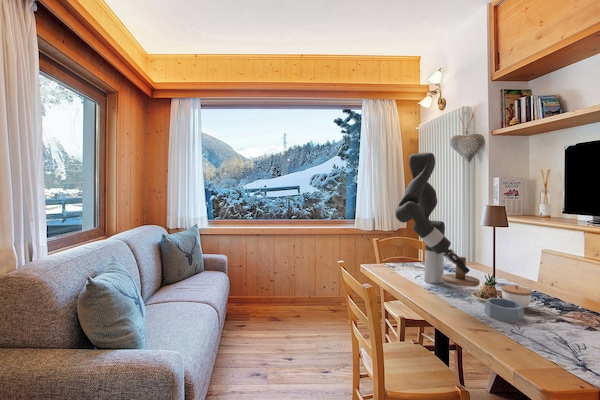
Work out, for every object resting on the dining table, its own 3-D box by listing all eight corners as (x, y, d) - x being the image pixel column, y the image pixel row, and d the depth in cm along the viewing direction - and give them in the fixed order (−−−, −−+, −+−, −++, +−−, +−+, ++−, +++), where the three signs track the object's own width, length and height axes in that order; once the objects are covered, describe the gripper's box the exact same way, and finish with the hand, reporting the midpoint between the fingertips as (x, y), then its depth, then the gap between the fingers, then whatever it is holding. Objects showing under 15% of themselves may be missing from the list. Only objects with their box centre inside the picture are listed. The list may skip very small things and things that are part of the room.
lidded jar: (526, 304, 138) (526, 283, 138) (535, 313, 128) (536, 290, 128) (498, 301, 142) (498, 280, 141) (505, 309, 131) (505, 287, 131)
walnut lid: (452, 274, 140) (452, 252, 139) (485, 282, 129) (486, 258, 128) (435, 280, 131) (435, 256, 131) (469, 288, 120) (470, 263, 120)
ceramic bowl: (493, 307, 133) (494, 296, 133) (526, 317, 124) (527, 304, 124) (480, 313, 126) (481, 301, 126) (514, 324, 117) (515, 311, 117)
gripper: (447, 236, 123) (480, 268, 122) (437, 231, 137) (466, 260, 136) (433, 249, 124) (465, 281, 123) (424, 243, 138) (453, 272, 137)
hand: (465, 270), depth 129 cm, fingers closed on walnut lid, 3 cm apart
